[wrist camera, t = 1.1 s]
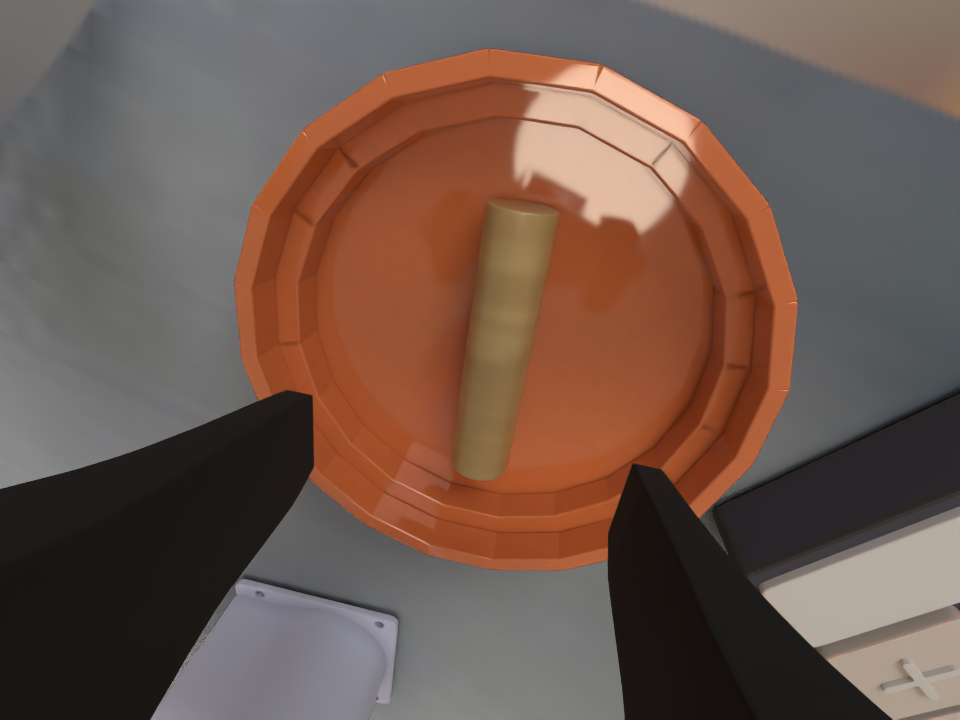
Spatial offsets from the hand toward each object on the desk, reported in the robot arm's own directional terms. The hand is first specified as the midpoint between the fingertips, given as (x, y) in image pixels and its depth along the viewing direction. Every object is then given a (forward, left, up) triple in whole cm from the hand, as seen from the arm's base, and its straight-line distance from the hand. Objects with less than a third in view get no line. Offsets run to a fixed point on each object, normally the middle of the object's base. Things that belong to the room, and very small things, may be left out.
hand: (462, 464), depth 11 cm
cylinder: (0, 0, -7) cm, 7 cm away
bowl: (0, 0, -9) cm, 9 cm away
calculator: (+19, -7, -9) cm, 22 cm away
